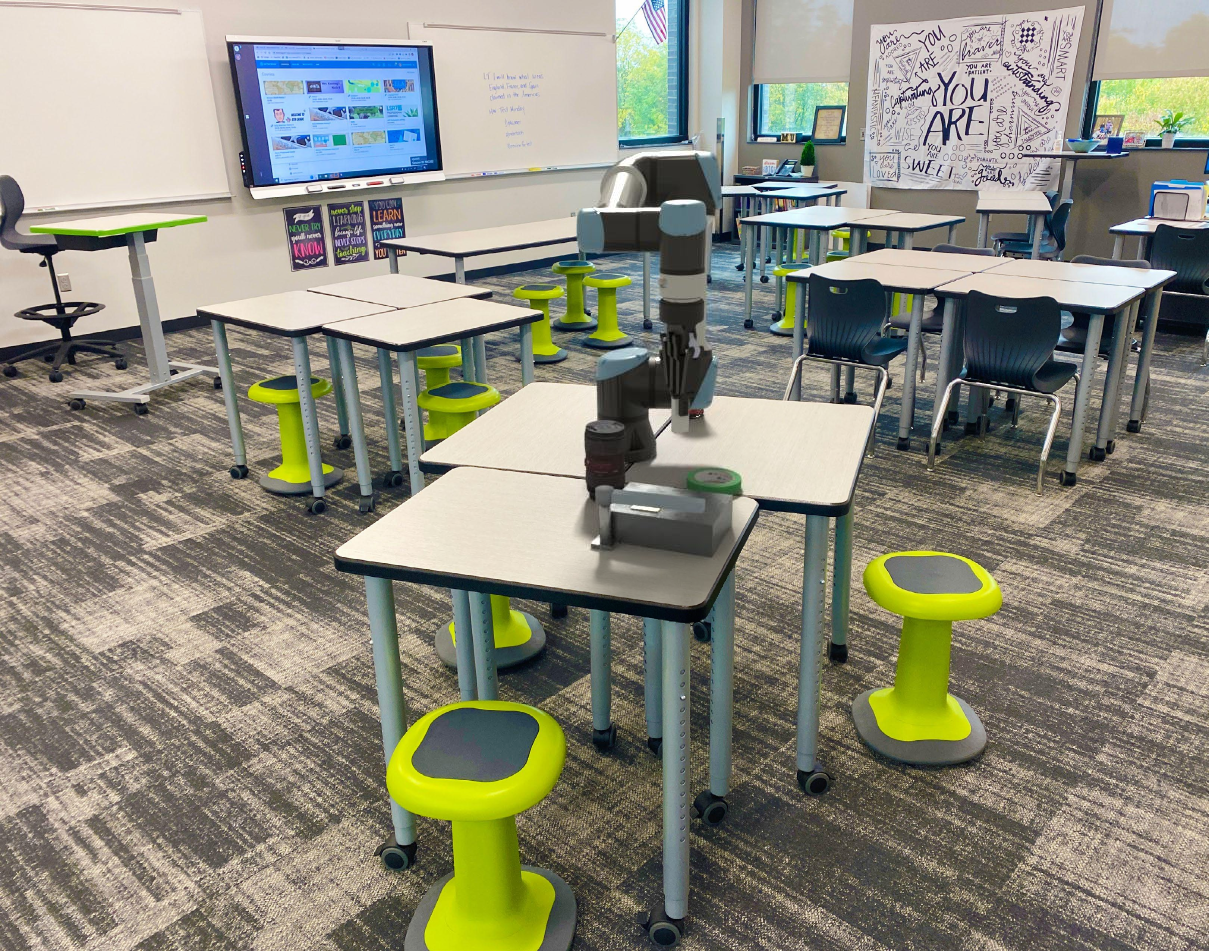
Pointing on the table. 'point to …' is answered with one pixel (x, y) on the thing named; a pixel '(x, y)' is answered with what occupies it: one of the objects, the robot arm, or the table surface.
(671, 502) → the bar
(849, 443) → the table surface
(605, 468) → the camera lens
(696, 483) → the tape roll
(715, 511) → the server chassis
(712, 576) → the table surface
